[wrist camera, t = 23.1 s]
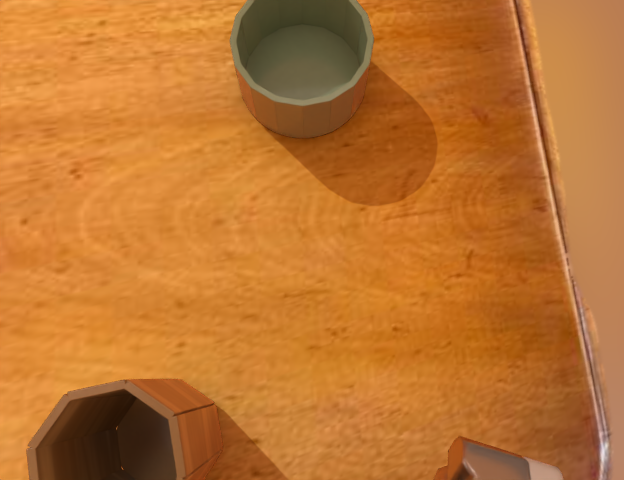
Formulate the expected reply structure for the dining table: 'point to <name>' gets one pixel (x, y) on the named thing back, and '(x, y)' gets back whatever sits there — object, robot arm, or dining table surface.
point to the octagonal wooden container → (128, 433)
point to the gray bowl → (302, 62)
